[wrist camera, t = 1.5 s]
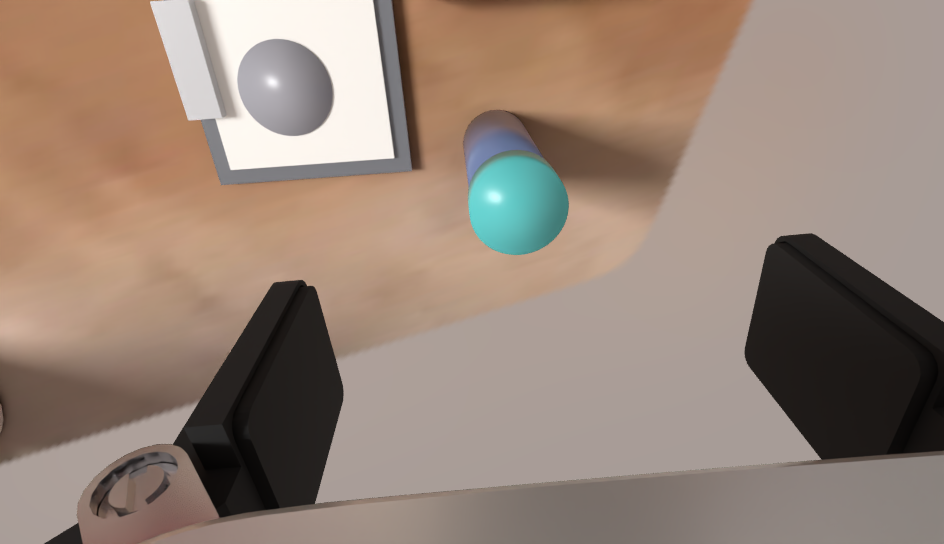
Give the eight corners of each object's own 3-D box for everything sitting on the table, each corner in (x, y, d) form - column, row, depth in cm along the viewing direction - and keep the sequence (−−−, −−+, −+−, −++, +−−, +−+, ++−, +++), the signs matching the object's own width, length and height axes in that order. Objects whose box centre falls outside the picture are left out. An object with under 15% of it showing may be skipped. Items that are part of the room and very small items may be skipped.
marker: (529, 173, 28) (567, 250, 19) (463, 178, 27) (472, 258, 19) (529, 105, 26) (570, 157, 17) (459, 110, 26) (466, 165, 17)
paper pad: (412, 168, 27) (411, 175, 26) (220, 182, 27) (211, 190, 26) (379, -110, 21) (375, -116, 20) (135, -94, 21) (117, -99, 20)
